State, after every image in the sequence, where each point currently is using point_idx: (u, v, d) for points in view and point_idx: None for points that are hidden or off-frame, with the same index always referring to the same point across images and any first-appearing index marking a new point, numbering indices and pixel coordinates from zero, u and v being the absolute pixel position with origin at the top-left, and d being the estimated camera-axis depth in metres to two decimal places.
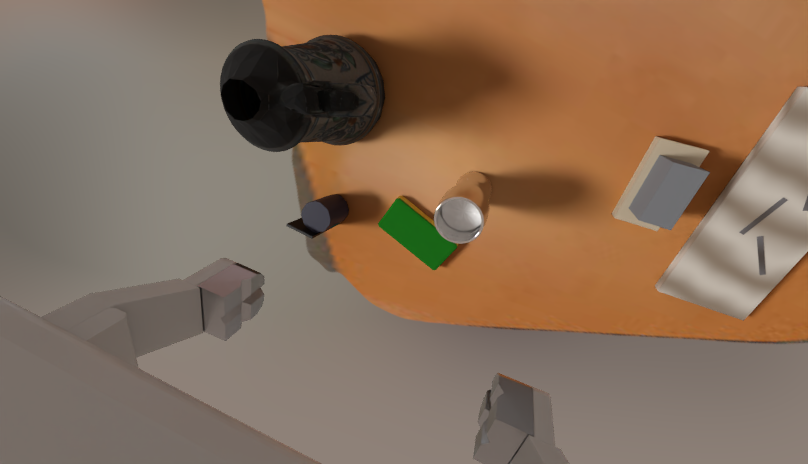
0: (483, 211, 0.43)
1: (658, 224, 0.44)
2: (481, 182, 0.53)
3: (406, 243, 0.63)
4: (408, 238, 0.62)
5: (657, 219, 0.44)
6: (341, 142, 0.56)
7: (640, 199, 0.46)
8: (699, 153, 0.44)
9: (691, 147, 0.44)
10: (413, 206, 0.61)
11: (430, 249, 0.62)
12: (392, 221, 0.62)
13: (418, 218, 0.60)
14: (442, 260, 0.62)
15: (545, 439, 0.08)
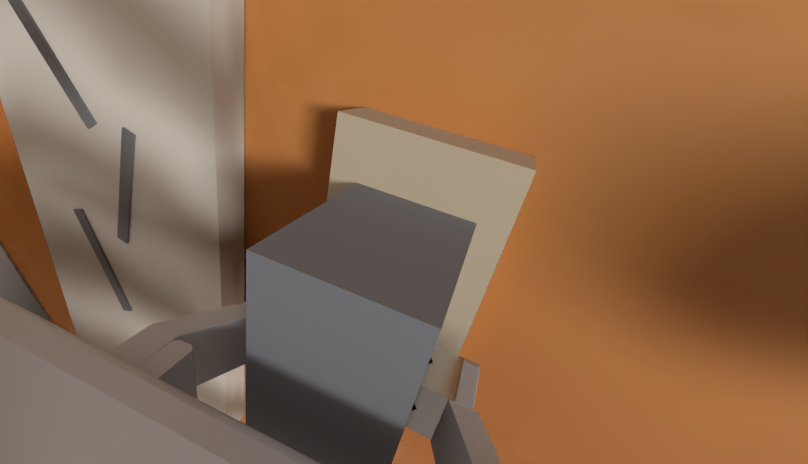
0: None
1: (319, 290, 0.06)
2: None
3: None
4: None
5: (336, 322, 0.07)
6: None
7: None
8: None
9: None
10: None
11: None
12: None
13: None
14: None
15: (465, 403, 0.08)
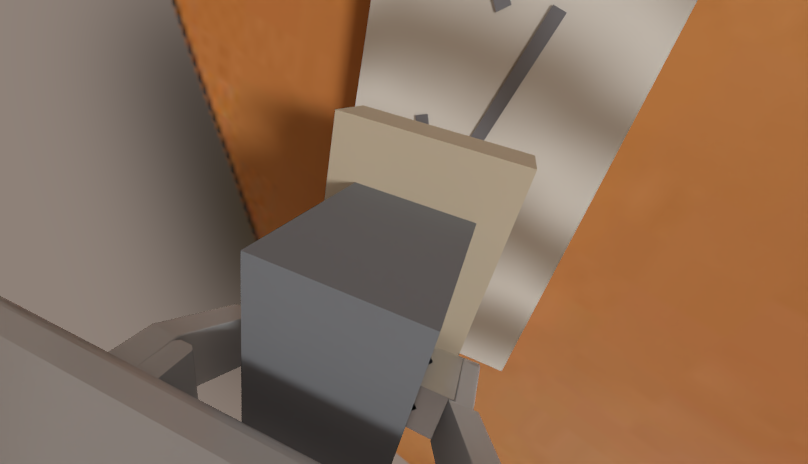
0: None
1: (315, 292, 0.06)
2: None
3: None
4: None
5: (332, 324, 0.06)
6: None
7: None
8: None
9: None
10: None
11: None
12: None
13: None
14: None
15: (464, 403, 0.08)
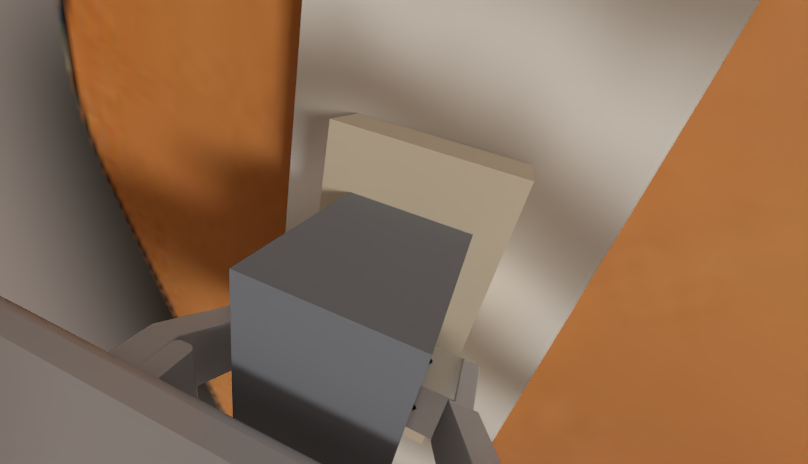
0: None
1: (305, 311, 0.06)
2: None
3: None
4: None
5: (323, 344, 0.06)
6: None
7: None
8: None
9: None
10: None
11: None
12: None
13: None
14: None
15: (464, 403, 0.08)
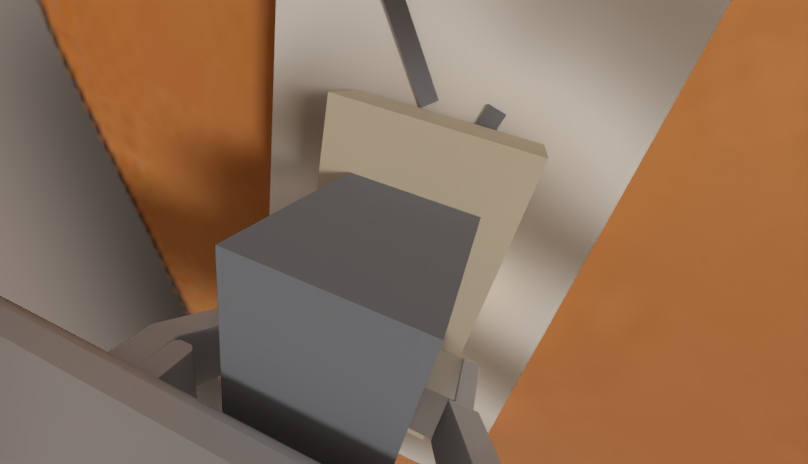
0: None
1: (300, 293, 0.05)
2: None
3: None
4: None
5: (320, 329, 0.06)
6: None
7: None
8: None
9: None
10: None
11: None
12: None
13: None
14: None
15: (465, 403, 0.08)
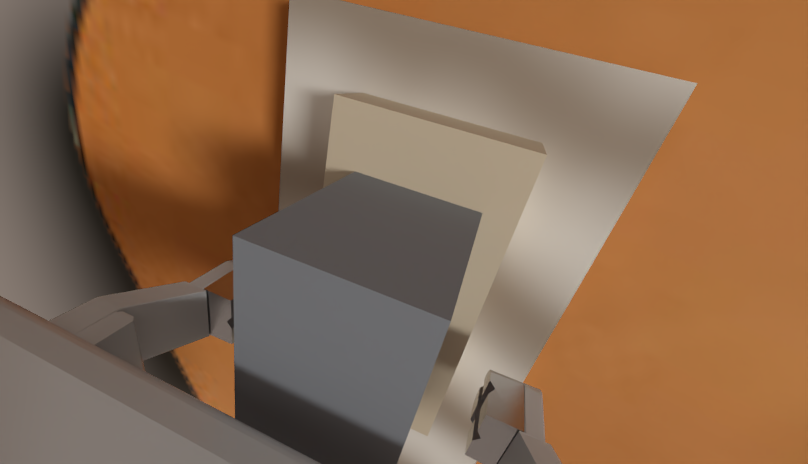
0: None
1: (314, 279, 0.06)
2: None
3: None
4: None
5: (333, 315, 0.06)
6: None
7: None
8: None
9: None
10: None
11: None
12: None
13: None
14: None
15: (535, 435, 0.08)
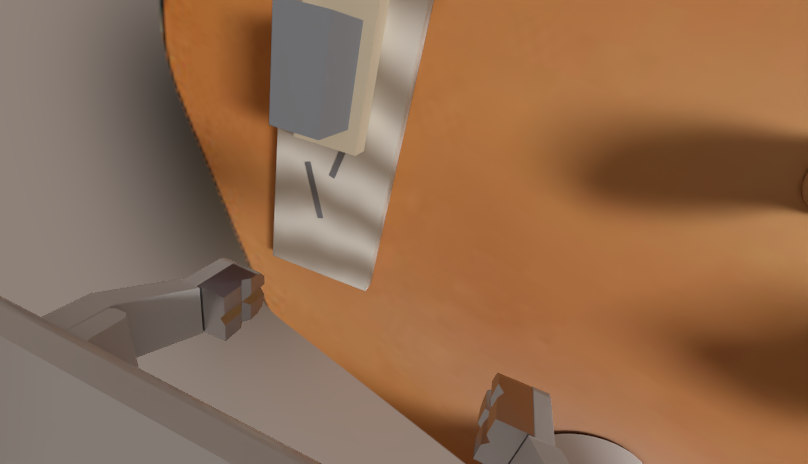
0: None
1: (296, 5, 0.21)
2: None
3: None
4: None
5: (302, 17, 0.21)
6: None
7: (347, 50, 0.24)
8: None
9: (314, 141, 0.30)
10: None
11: None
12: None
13: None
14: None
15: (545, 439, 0.08)
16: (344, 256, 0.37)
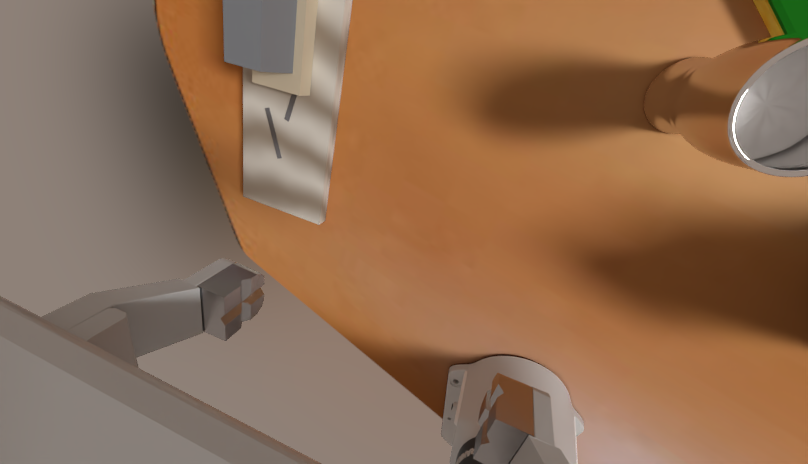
0: (718, 133, 0.18)
1: None
2: (671, 127, 0.27)
3: None
4: None
5: None
6: None
7: (283, 2, 0.31)
8: (259, 78, 0.37)
9: (268, 85, 0.37)
10: None
11: None
12: None
13: None
14: (786, 15, 0.24)
15: (545, 439, 0.08)
16: (300, 192, 0.43)
